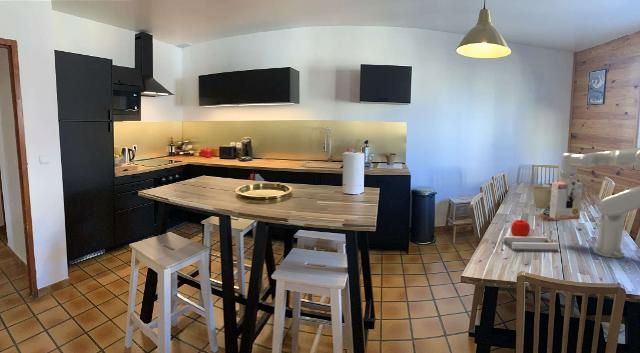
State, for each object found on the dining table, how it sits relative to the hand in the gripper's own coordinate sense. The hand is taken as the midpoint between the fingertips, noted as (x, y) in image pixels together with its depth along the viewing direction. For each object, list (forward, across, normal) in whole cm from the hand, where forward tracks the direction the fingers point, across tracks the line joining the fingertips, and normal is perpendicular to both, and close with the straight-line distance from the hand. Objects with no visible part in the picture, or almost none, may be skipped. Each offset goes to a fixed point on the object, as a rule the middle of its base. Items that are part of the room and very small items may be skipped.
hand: (565, 206), depth 202 cm
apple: (+22, +4, +22) cm, 31 cm away
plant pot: (+21, +84, -38) cm, 94 cm away
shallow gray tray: (+21, -8, +22) cm, 32 cm away
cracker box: (+7, 0, 0) cm, 7 cm away
